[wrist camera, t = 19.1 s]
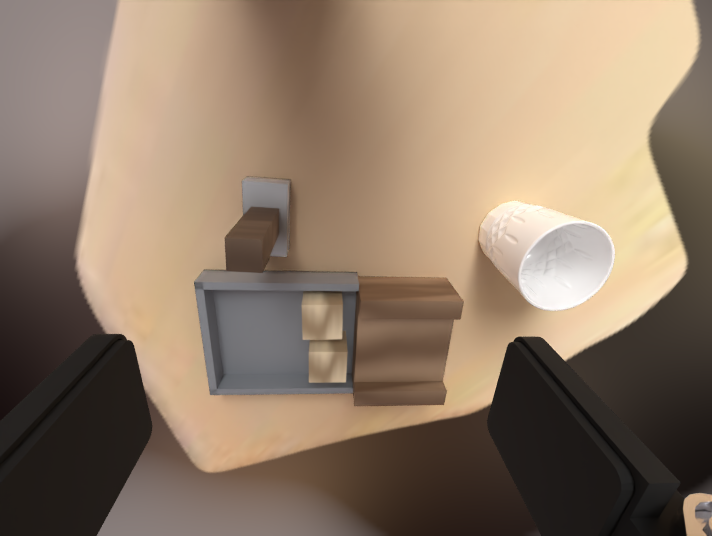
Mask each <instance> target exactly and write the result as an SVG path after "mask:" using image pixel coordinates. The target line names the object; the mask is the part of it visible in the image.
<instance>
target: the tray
mask: <svg viewBox="0 0 712 536" xmlns="http://www.w3.org/2000/svg"><path fill="white" fill-rule="evenodd" d="M194 285H195V292H196V299H197V306H198V313H199V320H200V327H201V334H202V341H203V348H204V355H205V362H206V369H207V376H208V383H209V390H210V395H256V394H335V393H353V382H352V359H353V341H354V324H355V306H356V291H359V281H358V275H357V272H313V271H263V273H251V272H232V271H227V270H203V272H202V273H201V274H200V275H199V277H198V278H197V279H196V280H195V281H194ZM304 291H342V300H343V324H342V331H346V339H347V351H348V353H347V372H346V382H332V383H309V344H310V340H303V333H302V299H303V292H304Z"/></svg>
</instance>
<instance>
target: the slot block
mask: <svg viewBox="0 0 712 536" xmlns="http://www.w3.org/2000/svg"><path fill="white" fill-rule="evenodd" d="M358 281H359V291H356V306H355V324H354V341H353V359H352V382H353V396H354V406H398V405H444V402H445V397H446V392H447V390H446V388H445V386H444V383H443V377H444V371H445V366H446V360H447V355H448V349H449V344H450V338H451V333H452V327H453V322H454V319H460V318H461V313H462V308H463V303H464V301H463V300H462V299H461V297H460V296H459V294H458V293H457V292H456V290H455V289H454V288H453V286H452V285H451V283H450V282H449V281H448V279H447V278H425V277H361V276H358Z"/></svg>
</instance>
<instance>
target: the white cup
mask: <svg viewBox="0 0 712 536" xmlns="http://www.w3.org/2000/svg"><path fill="white" fill-rule="evenodd" d="M478 240H479V243H480V246H481V249H482V251H483V253H484V254H485V255H486V256H487V257H488V258H489V259H490V260H491V261H492V263H493V264H494V266H495V267H496V268H497V269H498V270H499V271H500V272H501V274H502V275H503V276H504V277H505V278H506V279H507V280H508V281H509V282H510V283H511V284H512V285H513V286H514V287H515V288H516V289H517V291H518V292H519V293H520V294H521V295H522V296H523V297H524V298H525V299H526V300H527V301H528V302H529V303H530V304H532V305H533V306H535V307H537V308H539V309H542V310H547V311H560V310H566V309H570V308H573V307H575V306H577V305H580V304H581V303H583V302H585V301H587V300H588V299H589V298H591V297H592V296H593V295H594V294H595V293H597V292H598V291H599V289H600V288H601V287H602V286H603V285H604V283H605V282H606V280H607V279H608V277H609V275H610V273H611V271H612V268H613V264H614V259H615V250H614V245H613V242H612V239H611V237H610V236H609V234H608V233H607V232H606V231H605V230H604V229H603V228H601V227H600V226H598V225H596V224H594V223H591V222H588V221H585V220H582V219H579V218H576V217H573V216H570V215H567V214H564V213H561V212H558V211H555V210H552V209H549V208H545V207H541V206H538V205H532V204H529V203H525V202H520V201H516V200H515V201H511V202H506V203H502V204H500V205H498V206H497V207H496V208H494V209H493V210H492V211H490V212H489V213H488V214H487V216H486V217H485V219H484V221H483V222H482V224H481V225H480V231H479V238H478Z"/></svg>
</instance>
